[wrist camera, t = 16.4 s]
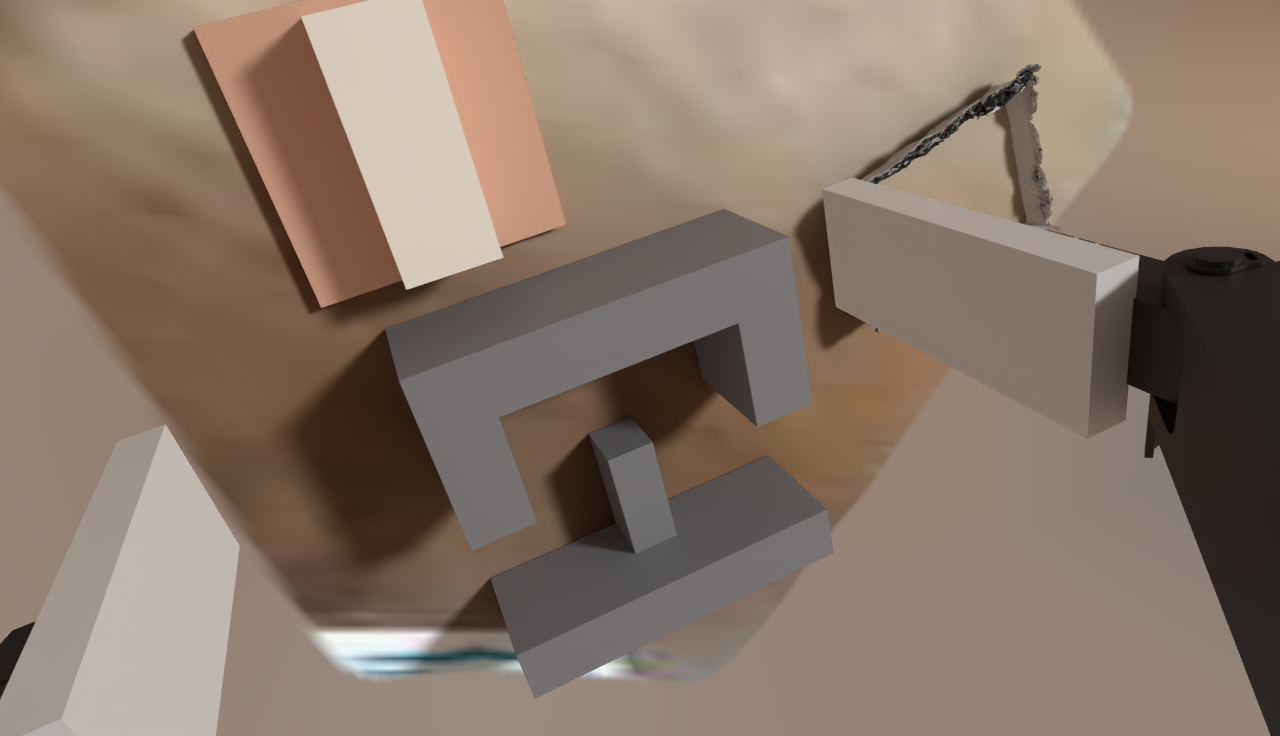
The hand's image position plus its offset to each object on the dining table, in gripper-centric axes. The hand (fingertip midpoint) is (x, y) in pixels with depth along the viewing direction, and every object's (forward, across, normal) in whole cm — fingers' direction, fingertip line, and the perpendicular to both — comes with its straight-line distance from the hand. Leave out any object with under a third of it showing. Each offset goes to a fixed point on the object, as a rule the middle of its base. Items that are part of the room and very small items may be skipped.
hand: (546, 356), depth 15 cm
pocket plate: (+20, +5, -15) cm, 26 cm away
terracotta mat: (+20, 0, +2) cm, 21 cm away
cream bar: (+20, 0, +2) cm, 20 cm away
